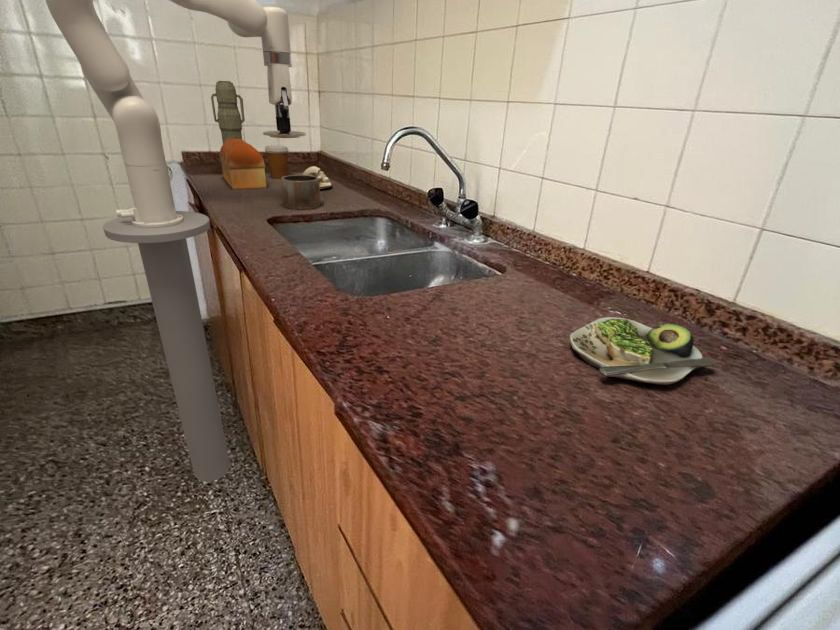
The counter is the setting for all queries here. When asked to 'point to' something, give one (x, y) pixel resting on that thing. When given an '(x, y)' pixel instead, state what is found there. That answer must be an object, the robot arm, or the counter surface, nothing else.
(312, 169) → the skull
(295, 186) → the pot
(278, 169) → the disposable coffee cup
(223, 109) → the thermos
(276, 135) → the lid
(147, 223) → the robot arm
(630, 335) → the avocado toast plate
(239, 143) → the bread
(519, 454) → the counter surface
